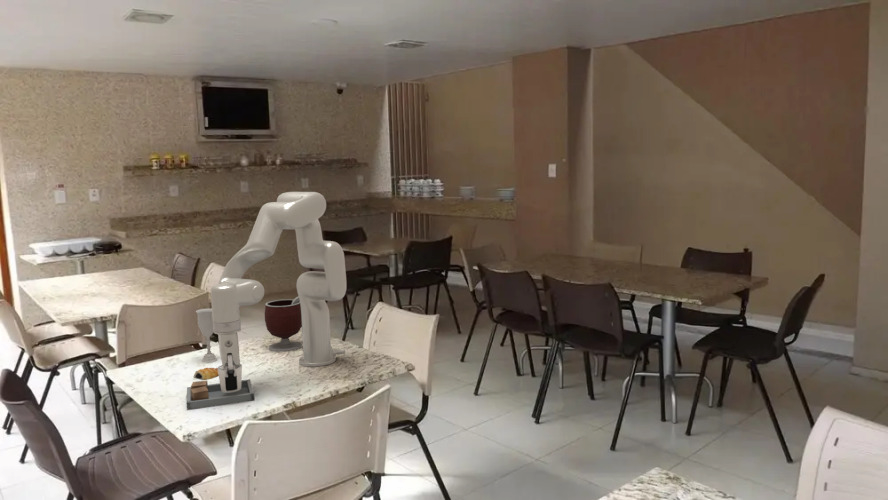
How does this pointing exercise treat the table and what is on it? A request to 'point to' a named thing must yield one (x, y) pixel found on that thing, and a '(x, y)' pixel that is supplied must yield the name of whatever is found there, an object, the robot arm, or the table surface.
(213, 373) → the pastry
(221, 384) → the shot glass
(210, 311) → the chalice
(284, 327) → the mate gourd
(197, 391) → the walnut block
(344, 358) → the table surface
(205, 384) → the walnut block
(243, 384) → the tray
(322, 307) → the robot arm
